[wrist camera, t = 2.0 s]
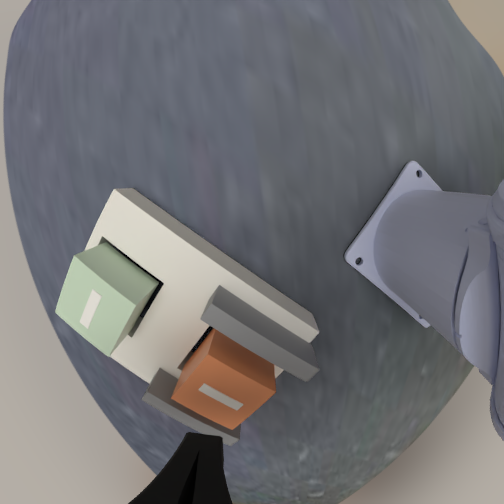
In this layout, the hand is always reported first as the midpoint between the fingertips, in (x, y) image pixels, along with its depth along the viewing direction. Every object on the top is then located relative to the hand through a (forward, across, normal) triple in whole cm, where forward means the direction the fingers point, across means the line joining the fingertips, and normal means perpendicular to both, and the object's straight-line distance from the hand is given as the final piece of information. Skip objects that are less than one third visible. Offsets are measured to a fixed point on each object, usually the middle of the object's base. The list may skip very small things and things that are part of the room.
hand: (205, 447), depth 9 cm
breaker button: (+7, 0, +1) cm, 7 cm away
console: (+9, +3, -2) cm, 10 cm away
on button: (+7, +7, -4) cm, 10 cm away
